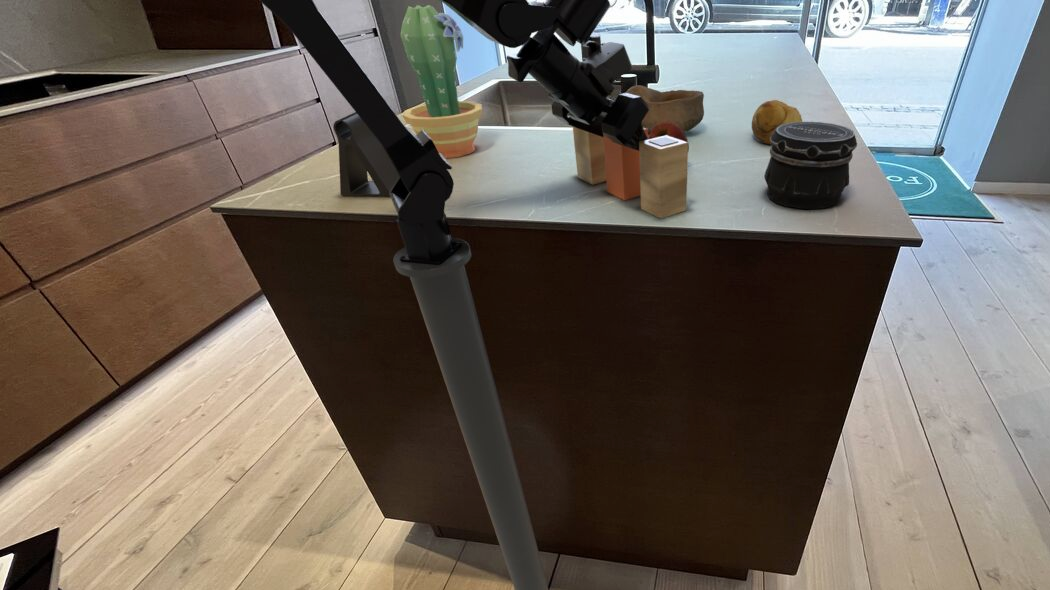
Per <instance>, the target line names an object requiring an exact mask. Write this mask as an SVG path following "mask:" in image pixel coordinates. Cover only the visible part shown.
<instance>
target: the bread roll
mask: <svg viewBox="0 0 1050 590" xmlns="http://www.w3.org/2000/svg"><path fill="white" fill-rule="evenodd" d="M793 122H803V118H802V114H801V113H800V111H799V110H798V109H797V107H793V106H791V105H788V104H787V103H785V102H783V101H782V100H781V101H780V100H778V99H772V100H768V101H765V102H763V103H761V104H760V105H759V106H758V107H757V109H755V111H754V113H753V116H752V120H751V130H752V133H753V135H754V137H755V138H756V140H757V141H760V142H761V143H763V144H766V145H772V144H771V142H770V138H771V134H772V133H773V132H774V131H775V130H776V128H777V127H778V126H780V125H782V124H787V123H793Z"/></svg>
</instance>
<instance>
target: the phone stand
mask: <svg viewBox="0 0 1050 590" xmlns="http://www.w3.org/2000/svg"><path fill="white" fill-rule="evenodd" d="M333 131H334V133H335V135H336V137H337V142H338V162H339V163H338V164H339V165H338V166H339V190H340V195H341V196H342V197H366V196H367V197H390V195H389V192H390V190H391V189H392V187H393V186H394V184H395V183H396V181H397V179H398V178H399V174H398V173H397V171H396V169H395V167H394V165H393V164H392V162H391V160H390V158H389V157H388V155H387V153H386V151H385V149H384V148H383V146H382V144H381V143H380V142H379V140H378V139H377V138H376V137H375V135H374V134H373V133H372V132H371V130H370V129H369V128H368V127H367V125H366V124H365V123H364V122H363V120H362V119H361V118H360V117H359V115H358V114H357V113H356V112H355V111H354V112H352V113H350V114H348V115H345V116H344V117H342V118H339V119H337V120H336V121H335V122H334V123H333ZM368 176H369V177H370V178H371V180H372V181H369V177H368Z"/></svg>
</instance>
